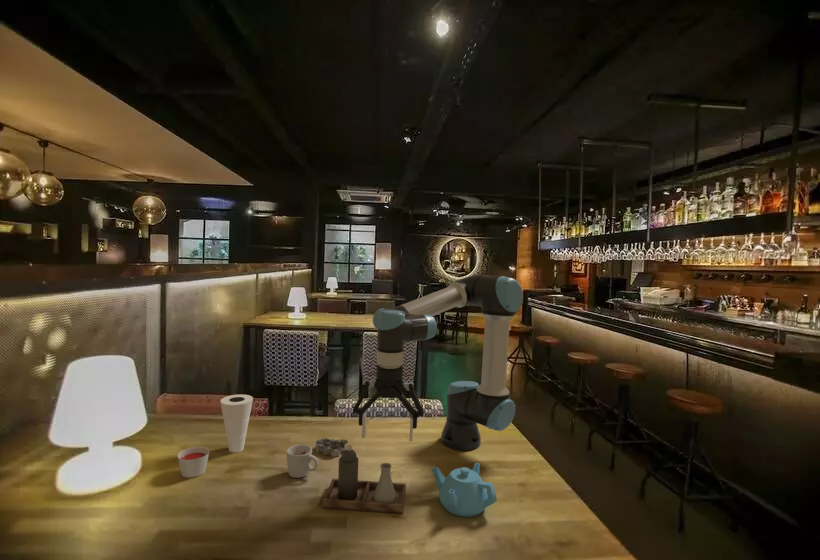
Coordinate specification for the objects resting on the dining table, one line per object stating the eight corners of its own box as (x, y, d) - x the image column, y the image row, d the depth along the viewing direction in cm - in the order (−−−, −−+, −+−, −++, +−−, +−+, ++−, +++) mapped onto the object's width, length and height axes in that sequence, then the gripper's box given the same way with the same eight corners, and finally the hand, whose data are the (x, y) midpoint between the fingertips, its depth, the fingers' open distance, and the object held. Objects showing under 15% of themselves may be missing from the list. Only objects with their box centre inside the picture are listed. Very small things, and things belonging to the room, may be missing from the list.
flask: (372, 492, 130) (373, 459, 130) (396, 491, 131) (397, 459, 130) (372, 506, 123) (373, 471, 123) (397, 505, 124) (399, 471, 123)
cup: (323, 472, 142) (324, 448, 141) (310, 484, 134) (311, 459, 134) (295, 466, 145) (295, 442, 145) (280, 477, 138) (281, 452, 137)
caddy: (405, 491, 133) (405, 483, 133) (402, 514, 121) (403, 505, 121) (332, 486, 134) (332, 478, 134) (322, 508, 122) (323, 500, 122)
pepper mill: (358, 491, 130) (360, 442, 129) (355, 502, 125) (357, 451, 124) (340, 490, 131) (341, 441, 130) (335, 500, 125) (337, 449, 124)
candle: (215, 469, 141) (215, 450, 140) (190, 482, 132) (191, 462, 132) (195, 463, 144) (195, 444, 144) (170, 475, 136) (170, 455, 136)
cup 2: (212, 452, 152) (213, 401, 151) (235, 440, 162) (236, 392, 161) (236, 459, 148) (237, 406, 147) (258, 446, 158) (259, 397, 157)
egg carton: (348, 451, 157) (349, 440, 157) (334, 459, 151) (335, 448, 151) (326, 443, 163) (326, 432, 163) (312, 451, 157) (312, 439, 156)
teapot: (445, 524, 118) (447, 485, 117) (429, 493, 132) (431, 458, 131) (498, 518, 121) (500, 480, 120) (477, 488, 136) (479, 455, 135)
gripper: (433, 363, 128) (430, 434, 129) (348, 359, 129) (346, 429, 131) (433, 370, 120) (430, 445, 122) (343, 366, 122) (341, 440, 123)
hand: (387, 437), depth 126 cm, fingers open, 13 cm apart
